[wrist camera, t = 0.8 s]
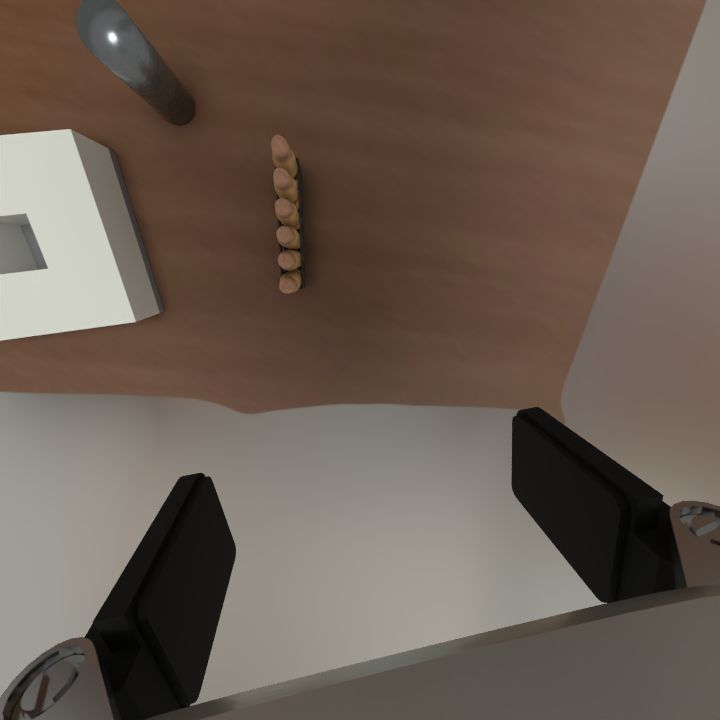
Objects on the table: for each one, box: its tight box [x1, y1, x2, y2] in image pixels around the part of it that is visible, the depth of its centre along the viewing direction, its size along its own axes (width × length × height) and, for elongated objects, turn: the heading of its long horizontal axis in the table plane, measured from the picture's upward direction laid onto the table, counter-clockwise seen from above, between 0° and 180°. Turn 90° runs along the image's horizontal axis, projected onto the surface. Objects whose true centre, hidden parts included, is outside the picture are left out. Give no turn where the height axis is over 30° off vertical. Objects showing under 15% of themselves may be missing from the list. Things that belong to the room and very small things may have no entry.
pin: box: [76, 0, 195, 125], centre depth 24 cm, size 3×3×10 cm
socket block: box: [0, 129, 164, 341], centre depth 28 cm, size 14×14×6 cm
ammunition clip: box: [271, 135, 305, 294], centre depth 27 cm, size 11×2×12 cm, turn 179°
